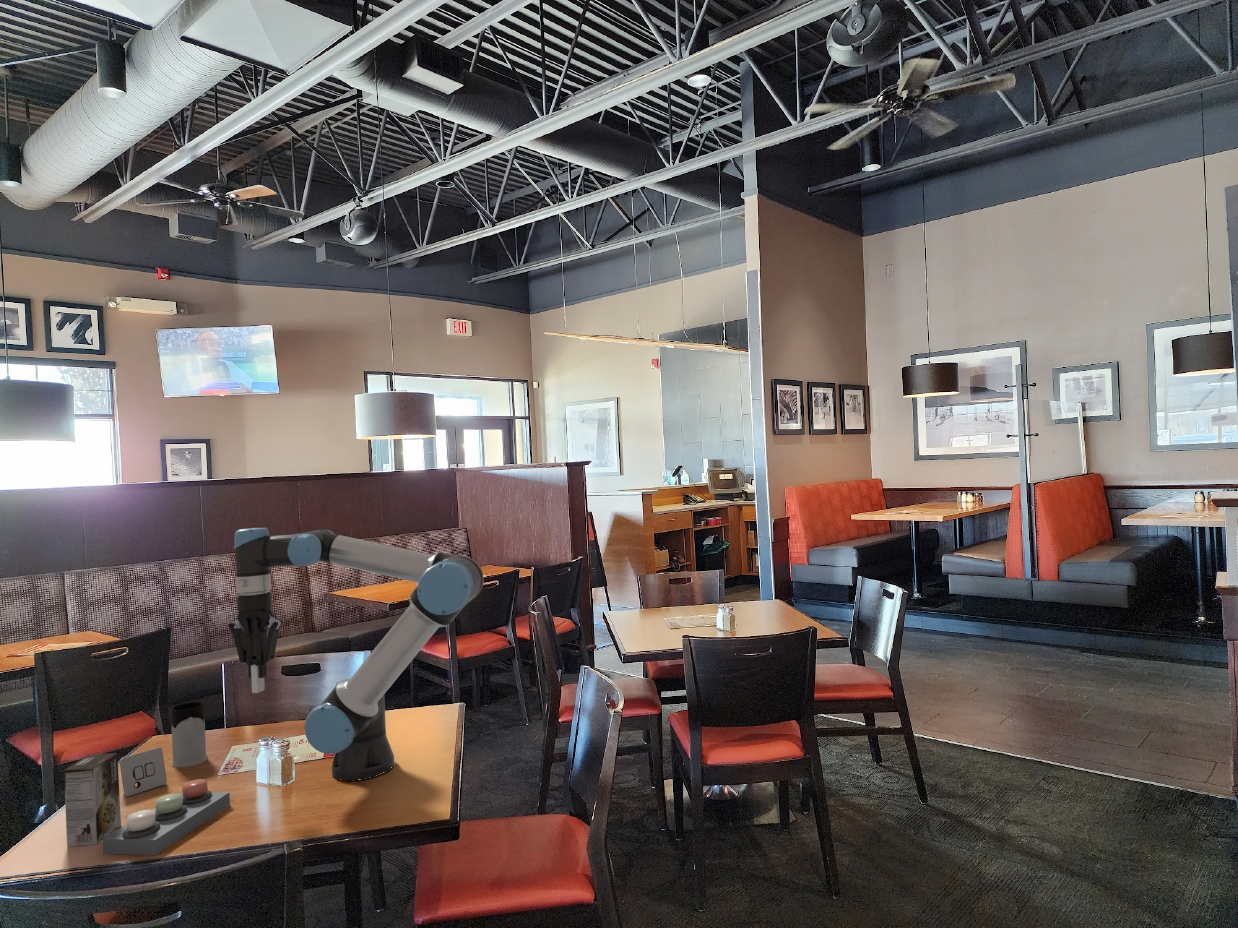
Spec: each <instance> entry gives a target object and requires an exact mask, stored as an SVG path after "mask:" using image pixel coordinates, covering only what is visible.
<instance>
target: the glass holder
mask: <svg viewBox="0 0 1238 928" xmlns="http://www.w3.org/2000/svg"><path fill="white" fill-rule="evenodd" d="M204 717H205V716H204V703H203V702H201V701H192V702H186V703H181V704H177V705H174V706H172V707H171V723H172V724H171V741H172V743H171V744H172V746H171V747H172V762H171V764H170V765H171V767H172V768H176V767H177V768H178V767H181V768H189V767H194V766H197V765H200V764H202V763H204V762H206V761H207V760H208V759H209V756H208V754H207V747H206V746H207V745H206V744H207V743H206V723H205V722H206V721H205V718H204ZM178 769H179V768H178Z"/></svg>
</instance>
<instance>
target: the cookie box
mask: <svg viewBox="0 0 1238 928" xmlns="http://www.w3.org/2000/svg"><path fill="white" fill-rule="evenodd" d="M63 778H64V779H63V781H64V798H65V799H64V802H65V803H64V804H65V806H64V807H65V823H66V824H65V828H66V846H67V847H77V846H78V845H79V846H87V845H88V846H90V845H98V844H99V843H101V842H102V839H103V838H105V837H106V836H108V835H110V834H111V833H113V832H115V831H116V829H117V828H119V827H120V826H121V825H122V815H121V799H120V794H121V793H120V780H119V779H120V777H119V761H118V752H115V753H96V754H95V753H93V754H88V755H86V756H84V757H83V758H81V759H80V760H78V761H76V762H74V763H73V764H72V765H70V766H68V767H67V768H65V769H64V770H63Z"/></svg>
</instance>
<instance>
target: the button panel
mask: <svg viewBox="0 0 1238 928" xmlns="http://www.w3.org/2000/svg"><path fill="white" fill-rule="evenodd" d="M179 794H182V791H181V792H180V793H179ZM230 794H231V793H230V792H228V791H225V792H224V791H222V792H221V791H214V792H213V791H211V790H208V791H207V792H206V793H205V794H203V795H200V796H197V797H192V798H184V797H183V794H182V799H183V806H182V808H180V809H179V810H176V811H174V812H170V813H165V814H159V813H156V807H154V808H152V809H151V810H154V811H155V824H154V825H153V826H151V827H149V828H146V829H143V830H139V831H128V830H127V824H125V825H124V826H122V827H120V828H118V829H117V830H114V831H112V832H111V833H110V834H109V835H108V836H106V837H105V838H103V839H102V840H101V842H102V843H101V844H102V854H103V855H133V856H134V855H137V856H141V855H142V856H143V855H144V856H157V855H158V854H160V853H161V852H163V851H164V850H165V849H167V848H168V847H170V846H171V845H173V844H174V843H176V842H178V841H179V840H180V839H182V838H184V837H185V836H186V835H188V834H189V833H191V832H192V831H194V830H195V829H197V828H198V827H200V826H202V825H203V824H204V823H206V822H207V821H209V820H211V819H212V818H213V817H215V816H216V815H218V814H219V813H221V812H223V811H224V810H225V809H226V808H228V807H230V806H231V800H230V799H231V797H230Z"/></svg>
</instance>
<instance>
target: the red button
mask: <svg viewBox="0 0 1238 928" xmlns="http://www.w3.org/2000/svg"><path fill="white" fill-rule="evenodd" d="M181 788H182V789H181V790H182V791H181V792H182V794H183V797H184V798H192V797H197V796H200V795H203V794H205V793H206V792H207V791H209V790H208V779H205V778H199V779H198V778H197V779H194V780H190V781H187V782H185V783H183V784H182V786H181Z"/></svg>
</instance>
